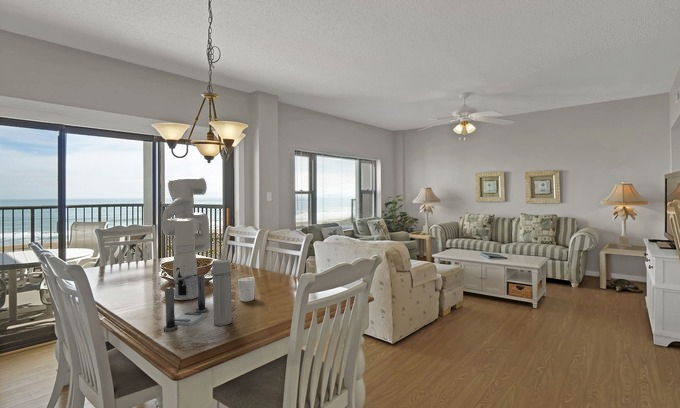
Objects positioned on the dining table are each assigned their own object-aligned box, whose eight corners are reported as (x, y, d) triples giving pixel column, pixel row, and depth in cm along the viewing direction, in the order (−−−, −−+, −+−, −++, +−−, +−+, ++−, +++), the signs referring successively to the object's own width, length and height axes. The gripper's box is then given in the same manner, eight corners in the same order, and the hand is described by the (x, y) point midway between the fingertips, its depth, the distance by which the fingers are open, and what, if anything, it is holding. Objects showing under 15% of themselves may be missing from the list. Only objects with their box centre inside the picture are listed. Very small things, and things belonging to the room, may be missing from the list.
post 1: (160, 331, 136) (159, 289, 136) (169, 326, 141) (167, 286, 140) (172, 332, 135) (170, 290, 135) (180, 327, 140) (179, 286, 139)
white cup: (250, 302, 171) (250, 281, 170) (235, 301, 172) (235, 280, 172) (257, 297, 178) (257, 277, 178) (243, 296, 180) (242, 277, 180)
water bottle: (215, 320, 147) (213, 259, 146) (234, 319, 147) (233, 259, 147) (209, 329, 138) (207, 264, 137) (230, 328, 138) (228, 263, 138)
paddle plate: (166, 323, 144) (166, 320, 144) (183, 314, 155) (183, 311, 155) (191, 325, 142) (191, 321, 142) (206, 315, 153) (206, 312, 153)
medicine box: (198, 296, 149) (197, 276, 149) (190, 299, 145) (190, 278, 144) (183, 295, 151) (182, 275, 151) (175, 298, 147) (174, 277, 147)
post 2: (193, 312, 157) (192, 276, 156) (200, 309, 162) (199, 274, 161) (203, 313, 156) (202, 276, 155) (210, 309, 161) (209, 274, 160)
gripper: (189, 246, 156) (190, 287, 157) (163, 252, 140) (164, 298, 140) (205, 246, 155) (206, 288, 155) (180, 252, 138) (181, 299, 139)
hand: (186, 292), depth 148 cm, fingers closed on medicine box, 4 cm apart
